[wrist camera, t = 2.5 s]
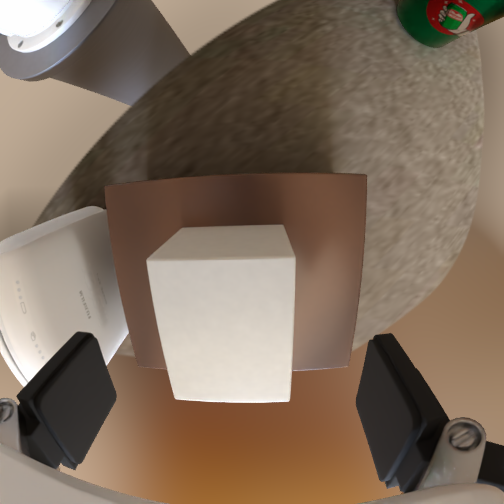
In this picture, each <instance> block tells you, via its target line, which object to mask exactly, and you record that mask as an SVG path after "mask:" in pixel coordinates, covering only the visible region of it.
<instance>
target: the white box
mask: <svg viewBox="0 0 504 504" xmlns="http://www.w3.org/2000/svg"><path fill="white" fill-rule="evenodd" d="M146 262H147V269H148V275H149V282H150V288H151V294H152V299H153V305H154V310H155V315H156V320H157V325H158V330H159V335H160V340H161V344H162V349H163V353H164V358H165V362H166V366H167V370H168V374H169V378H170V382H171V386H172V389H173V393H174V397H175V399H181V400H195V401H213V402H283V401H289V400H290V390H291V375H292V357H293V335H294V308H295V265H296V257H295V255H294V252H293V249H292V247H291V244H290V241H289V239H288V236H287V233H286V231H285V228H284V226H283V225H245V226H214V227H188V228H181V229H180V230H179V231H178V232H177V233H176V234H174V235H173V236H172V237H171V238H170V239H169V240H168V241H166V242H165V243H164V244H163V245H162V246H161V247H160V248H159V249H157V250H156V251H155V252H154V253H153V254H152V255H151V256H150V257H149V258H147V260H146Z"/></svg>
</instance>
